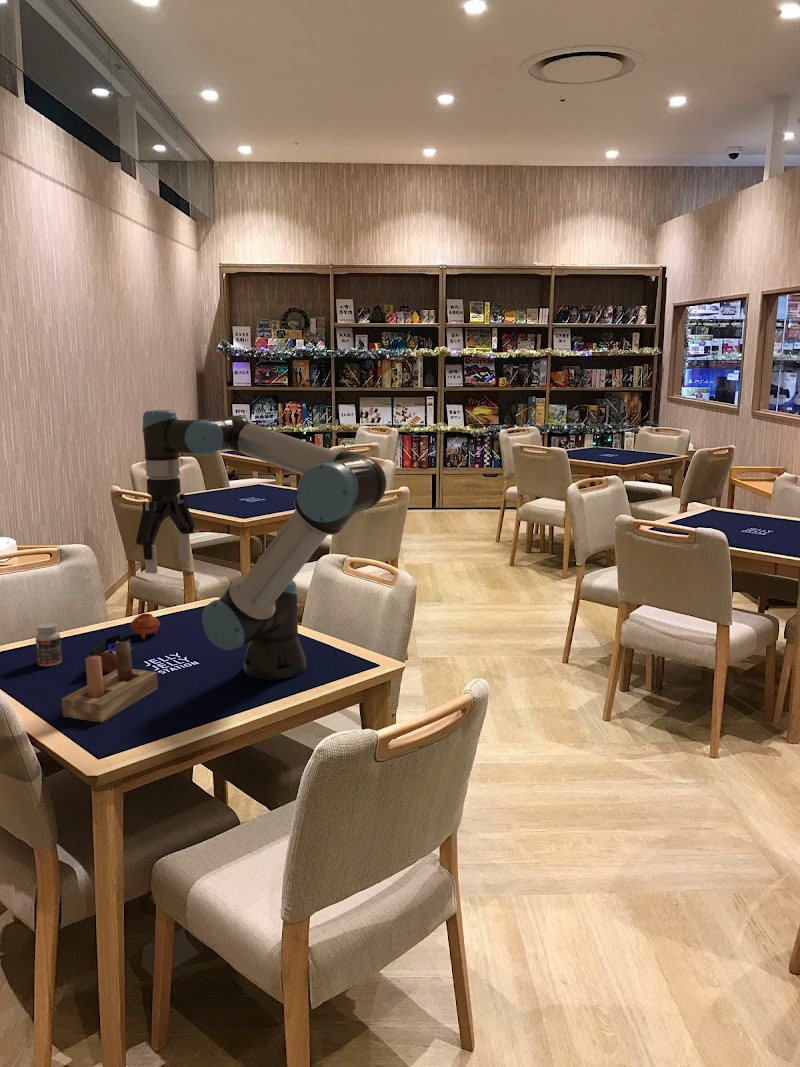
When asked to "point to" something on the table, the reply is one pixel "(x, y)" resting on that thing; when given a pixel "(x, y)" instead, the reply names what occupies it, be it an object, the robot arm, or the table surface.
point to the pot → (145, 624)
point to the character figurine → (108, 653)
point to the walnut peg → (124, 661)
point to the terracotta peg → (94, 676)
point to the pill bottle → (48, 645)
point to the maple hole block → (109, 696)
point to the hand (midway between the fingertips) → (168, 566)
